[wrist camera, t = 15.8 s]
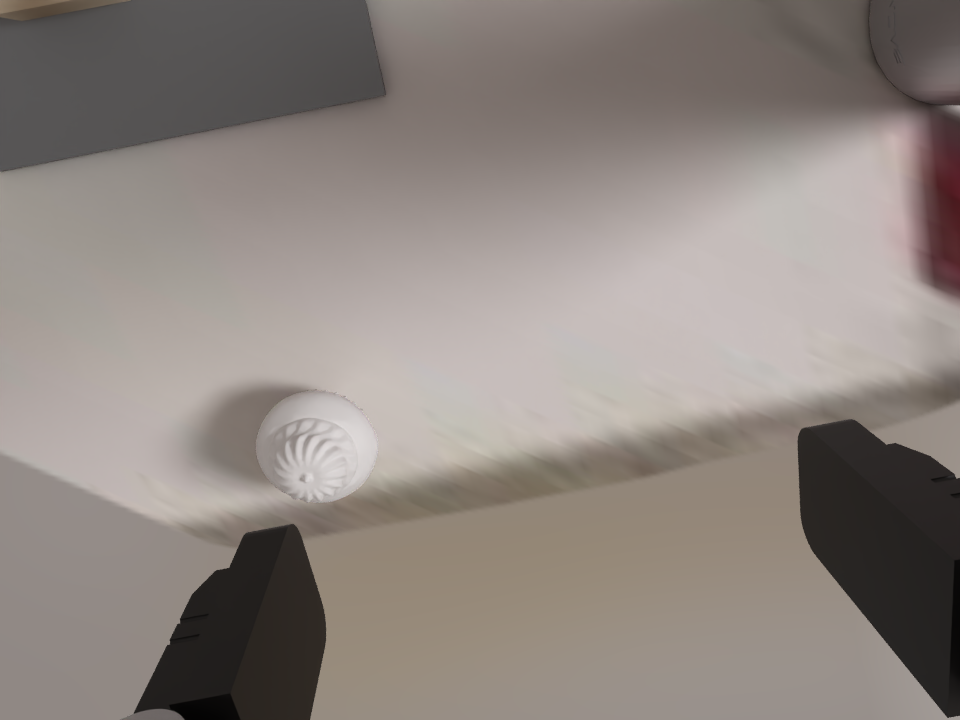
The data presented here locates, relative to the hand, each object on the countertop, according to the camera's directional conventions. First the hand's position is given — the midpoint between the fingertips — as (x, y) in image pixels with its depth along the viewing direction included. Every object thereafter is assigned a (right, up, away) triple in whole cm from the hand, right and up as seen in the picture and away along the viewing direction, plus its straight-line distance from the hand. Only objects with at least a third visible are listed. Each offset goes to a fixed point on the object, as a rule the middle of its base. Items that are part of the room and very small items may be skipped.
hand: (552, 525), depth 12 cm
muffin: (-10, -1, +30) cm, 31 cm away
